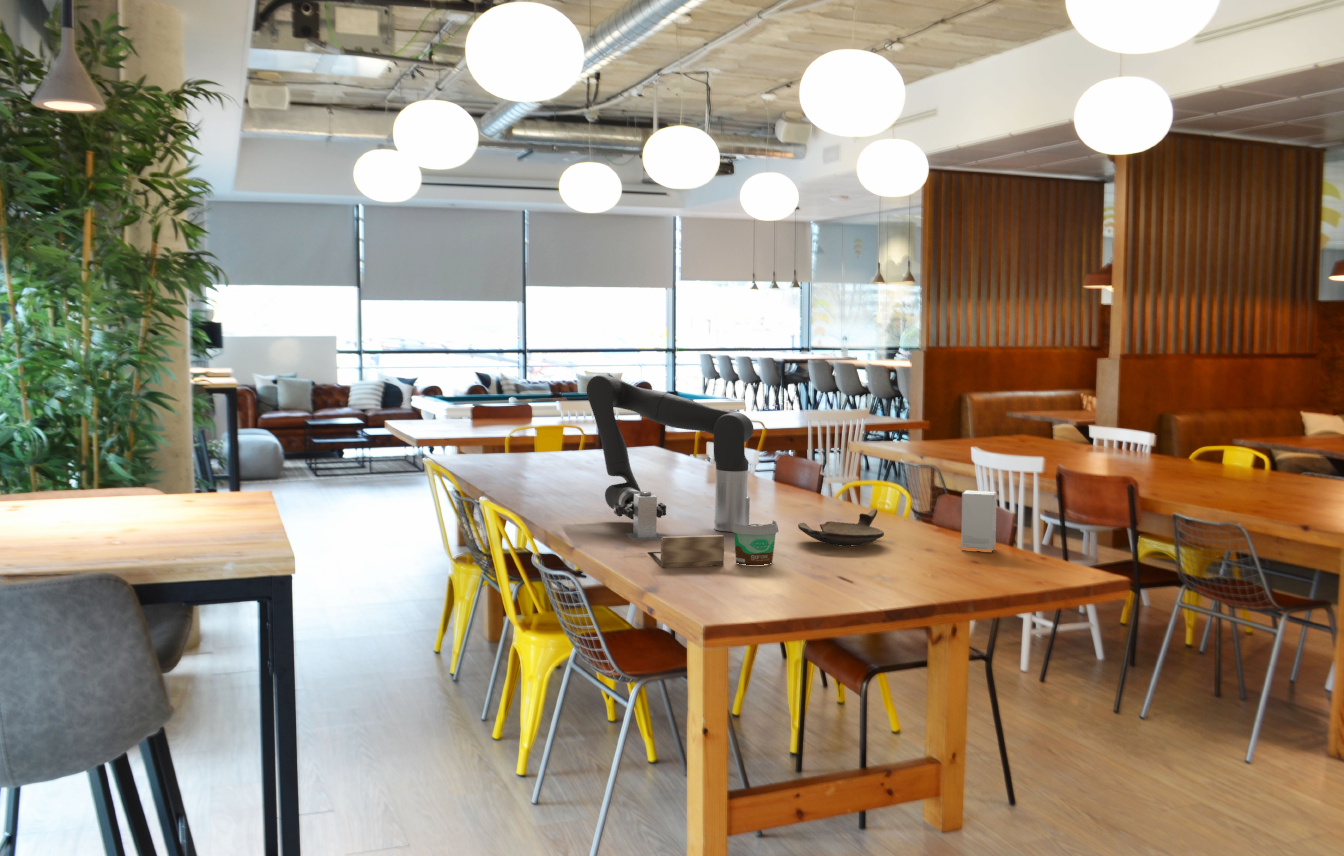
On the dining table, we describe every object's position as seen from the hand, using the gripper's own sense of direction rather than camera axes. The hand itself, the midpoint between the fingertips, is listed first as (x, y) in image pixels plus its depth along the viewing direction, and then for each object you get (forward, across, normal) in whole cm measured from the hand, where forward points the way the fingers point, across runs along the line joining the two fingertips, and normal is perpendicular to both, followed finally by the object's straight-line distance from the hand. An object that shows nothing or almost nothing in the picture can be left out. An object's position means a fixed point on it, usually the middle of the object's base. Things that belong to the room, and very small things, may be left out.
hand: (645, 514), depth 277 cm
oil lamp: (+9, +54, +8) cm, 55 cm away
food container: (+30, +22, +8) cm, 38 cm away
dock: (+20, +6, +8) cm, 22 cm away
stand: (-1, 0, +8) cm, 8 cm away
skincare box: (+22, +85, +8) cm, 88 cm away
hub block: (-1, 0, +6) cm, 6 cm away
